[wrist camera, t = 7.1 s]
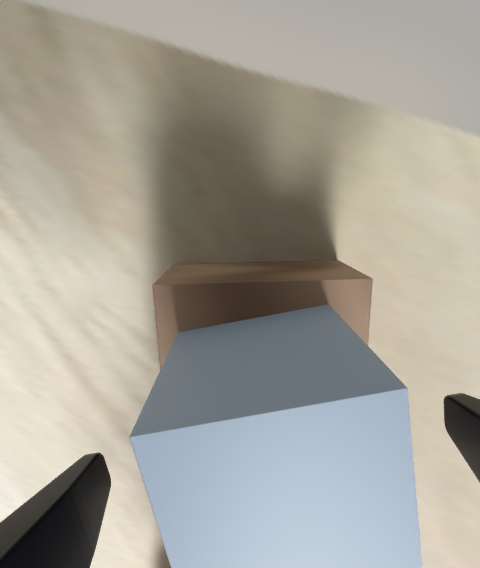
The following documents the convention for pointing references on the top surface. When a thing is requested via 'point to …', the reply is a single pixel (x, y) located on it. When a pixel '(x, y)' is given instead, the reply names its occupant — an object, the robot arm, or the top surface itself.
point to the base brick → (256, 294)
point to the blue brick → (279, 448)
